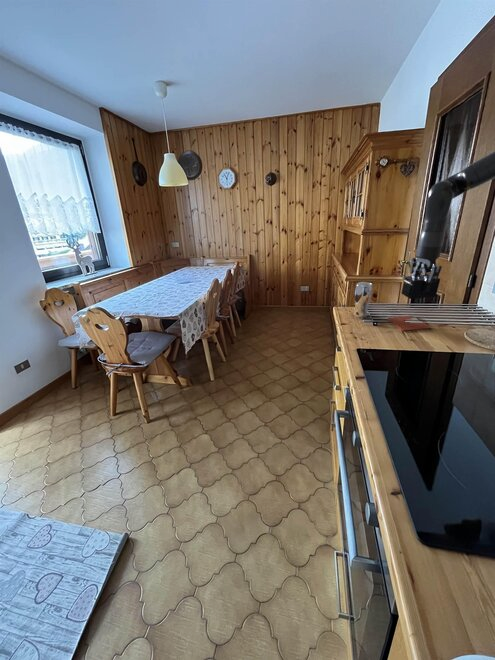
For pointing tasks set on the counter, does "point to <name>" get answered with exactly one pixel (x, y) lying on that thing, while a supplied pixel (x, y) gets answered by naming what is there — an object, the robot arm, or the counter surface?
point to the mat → (408, 324)
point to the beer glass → (362, 299)
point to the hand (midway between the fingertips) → (419, 288)
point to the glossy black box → (418, 287)
